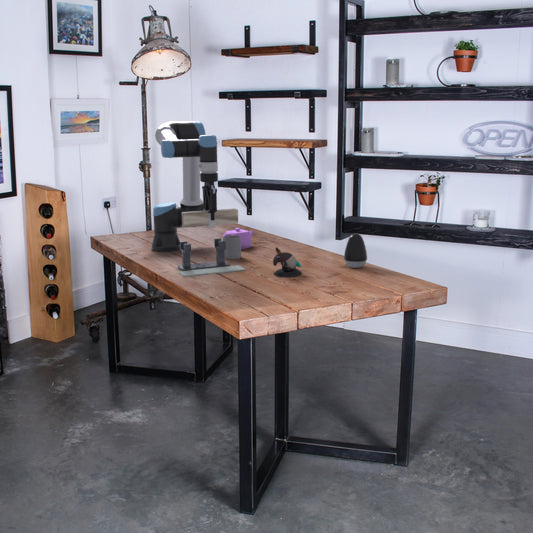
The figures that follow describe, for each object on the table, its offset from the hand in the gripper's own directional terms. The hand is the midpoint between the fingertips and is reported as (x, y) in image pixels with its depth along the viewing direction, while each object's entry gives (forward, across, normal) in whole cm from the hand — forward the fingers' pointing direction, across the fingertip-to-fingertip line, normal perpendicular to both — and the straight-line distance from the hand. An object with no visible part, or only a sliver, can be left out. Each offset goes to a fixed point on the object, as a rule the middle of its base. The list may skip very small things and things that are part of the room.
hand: (210, 226), depth 276 cm
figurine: (+20, +18, +28) cm, 39 cm away
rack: (+20, -9, -1) cm, 22 cm away
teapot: (+20, -45, +29) cm, 57 cm away
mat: (+20, 0, 0) cm, 20 cm away
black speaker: (+20, +19, +61) cm, 67 cm away
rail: (-1, 0, 0) cm, 1 cm away
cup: (+20, -24, +18) cm, 36 cm away
